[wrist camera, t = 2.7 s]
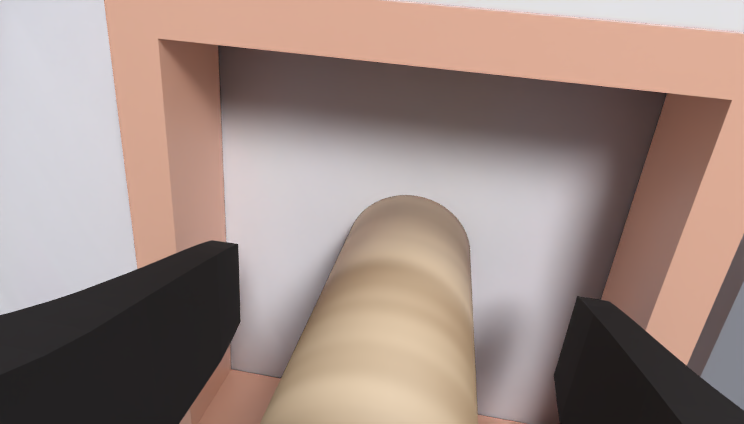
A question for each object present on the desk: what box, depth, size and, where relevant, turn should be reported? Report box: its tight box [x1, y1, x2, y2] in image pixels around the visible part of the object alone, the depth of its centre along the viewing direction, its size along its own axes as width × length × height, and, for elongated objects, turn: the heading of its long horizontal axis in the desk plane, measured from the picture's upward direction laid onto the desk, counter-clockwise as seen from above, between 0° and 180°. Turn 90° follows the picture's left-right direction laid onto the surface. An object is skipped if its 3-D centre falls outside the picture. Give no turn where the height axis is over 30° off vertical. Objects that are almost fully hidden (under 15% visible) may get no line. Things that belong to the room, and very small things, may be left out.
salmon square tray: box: [104, 0, 744, 424], centre depth 12 cm, size 12×12×2 cm
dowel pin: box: [260, 195, 478, 424], centre depth 10 cm, size 3×3×7 cm
